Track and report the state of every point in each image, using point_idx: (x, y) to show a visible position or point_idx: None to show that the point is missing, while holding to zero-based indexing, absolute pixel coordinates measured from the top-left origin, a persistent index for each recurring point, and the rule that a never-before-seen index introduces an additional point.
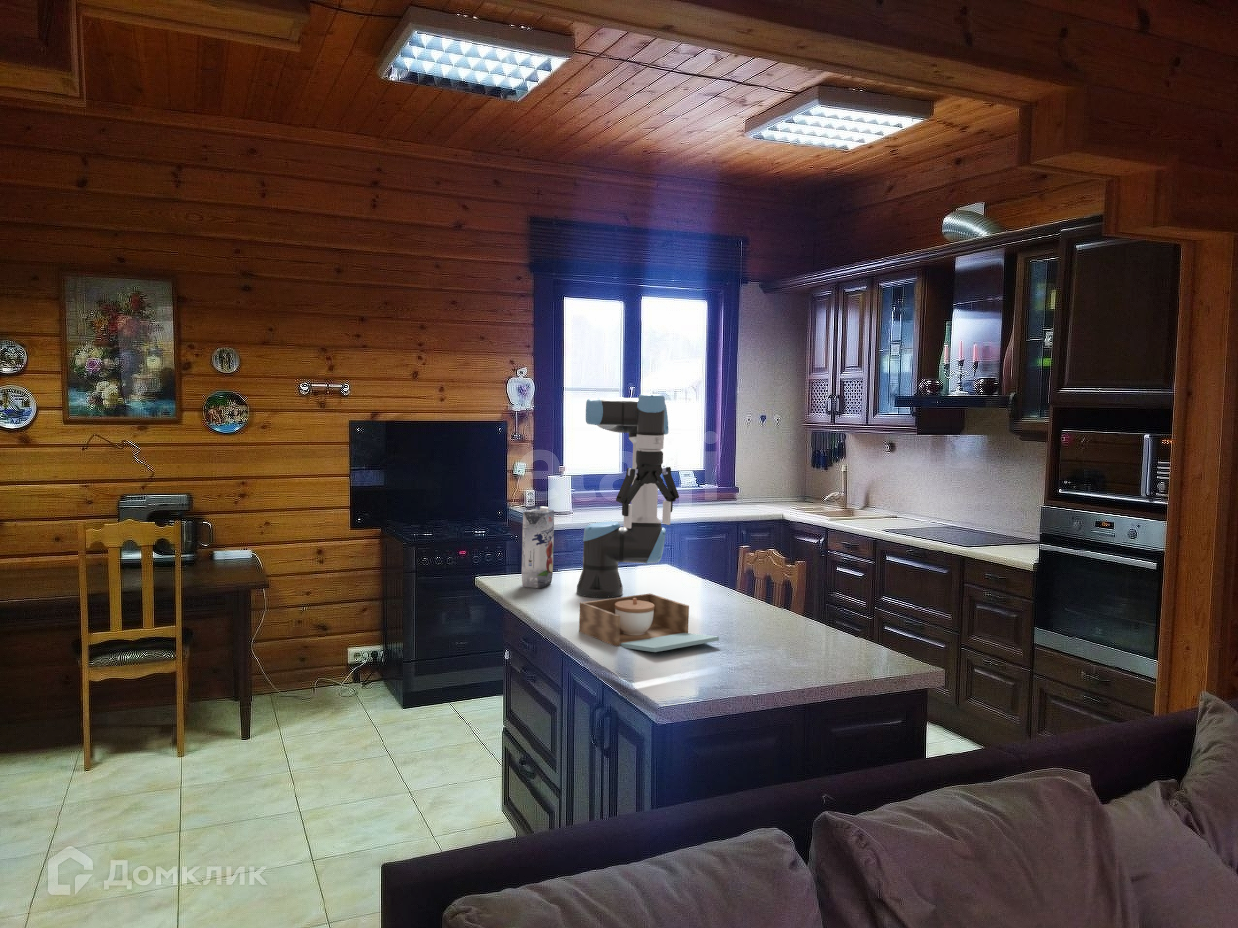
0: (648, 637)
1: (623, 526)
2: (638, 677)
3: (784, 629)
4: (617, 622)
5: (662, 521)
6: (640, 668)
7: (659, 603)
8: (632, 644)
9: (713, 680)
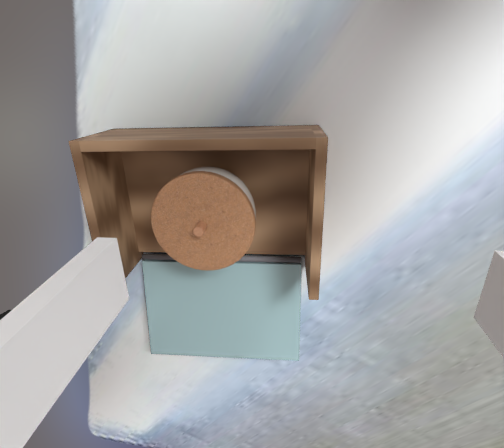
0: None
1: (96, 238)
2: (108, 362)
3: None
4: None
5: (502, 262)
6: (130, 338)
7: (312, 193)
8: (148, 292)
9: (196, 413)
